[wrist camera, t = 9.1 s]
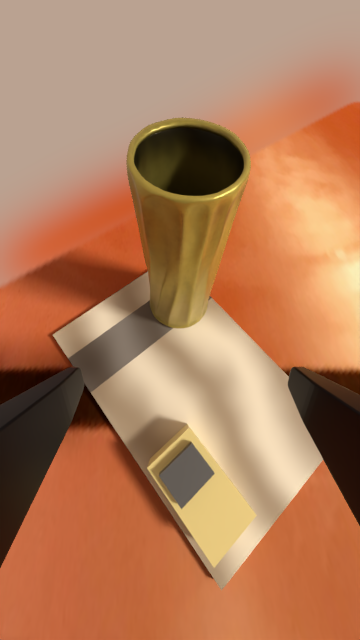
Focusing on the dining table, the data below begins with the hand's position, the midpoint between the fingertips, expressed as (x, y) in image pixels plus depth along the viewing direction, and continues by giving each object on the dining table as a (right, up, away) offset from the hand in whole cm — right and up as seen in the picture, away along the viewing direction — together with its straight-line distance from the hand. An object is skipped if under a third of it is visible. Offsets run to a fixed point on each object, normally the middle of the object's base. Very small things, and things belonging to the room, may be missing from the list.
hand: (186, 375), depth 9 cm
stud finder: (+1, -10, +8) cm, 13 cm away
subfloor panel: (+1, -4, +11) cm, 12 cm away
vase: (0, +4, +13) cm, 14 cm away
